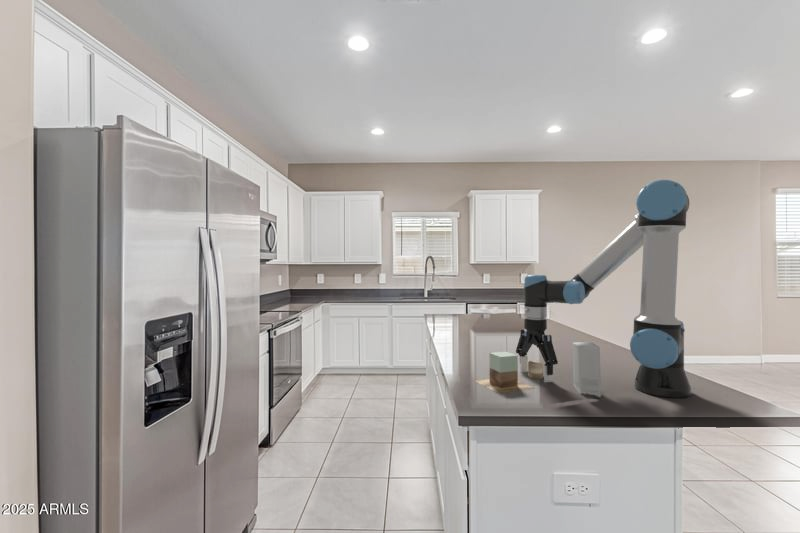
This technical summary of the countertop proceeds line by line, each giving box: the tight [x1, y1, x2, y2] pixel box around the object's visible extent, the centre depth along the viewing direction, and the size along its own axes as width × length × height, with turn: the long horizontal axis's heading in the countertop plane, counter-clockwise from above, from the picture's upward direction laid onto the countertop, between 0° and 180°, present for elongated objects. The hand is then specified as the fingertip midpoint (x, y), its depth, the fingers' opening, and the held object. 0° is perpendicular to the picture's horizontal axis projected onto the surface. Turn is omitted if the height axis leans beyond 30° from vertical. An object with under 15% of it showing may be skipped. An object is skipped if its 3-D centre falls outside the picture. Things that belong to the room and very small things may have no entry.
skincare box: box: [571, 341, 602, 398], centre depth 124 cm, size 8×7×16 cm
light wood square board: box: [474, 378, 535, 394], centre depth 130 cm, size 14×14×1 cm
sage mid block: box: [489, 351, 519, 373], centre depth 130 cm, size 6×6×5 cm
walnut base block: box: [489, 367, 519, 388], centre depth 130 cm, size 6×6×5 cm
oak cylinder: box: [527, 360, 544, 380], centre depth 139 cm, size 5×5×6 cm
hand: (535, 378), depth 140 cm, fingers open, 12 cm apart
